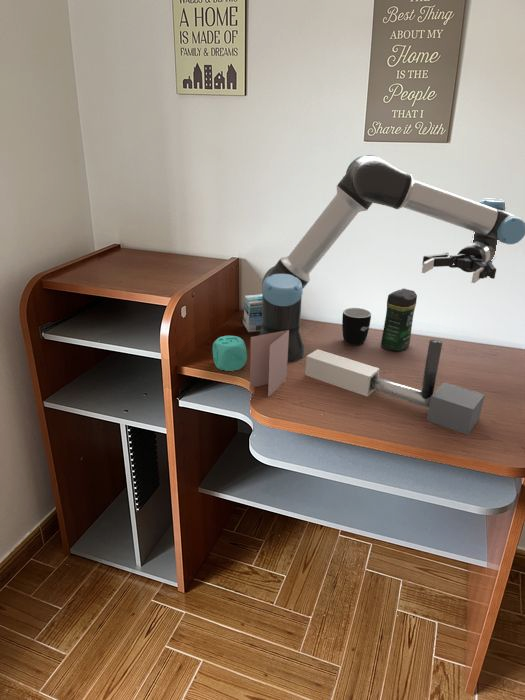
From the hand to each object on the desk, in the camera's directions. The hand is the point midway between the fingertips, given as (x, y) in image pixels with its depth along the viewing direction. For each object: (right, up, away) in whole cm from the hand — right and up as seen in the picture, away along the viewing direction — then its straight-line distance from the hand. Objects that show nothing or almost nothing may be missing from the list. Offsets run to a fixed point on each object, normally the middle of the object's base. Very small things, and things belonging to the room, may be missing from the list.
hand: (448, 272), depth 144 cm
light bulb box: (-50, -13, +41) cm, 66 cm away
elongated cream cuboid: (-27, -30, +6) cm, 41 cm away
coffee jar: (-7, -20, +30) cm, 36 cm away
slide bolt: (-14, -33, -4) cm, 36 cm away
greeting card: (-47, -31, +2) cm, 56 cm away
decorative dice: (-59, -25, +14) cm, 66 cm away
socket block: (-2, -38, -11) cm, 40 cm away
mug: (-19, -18, +33) cm, 42 cm away
